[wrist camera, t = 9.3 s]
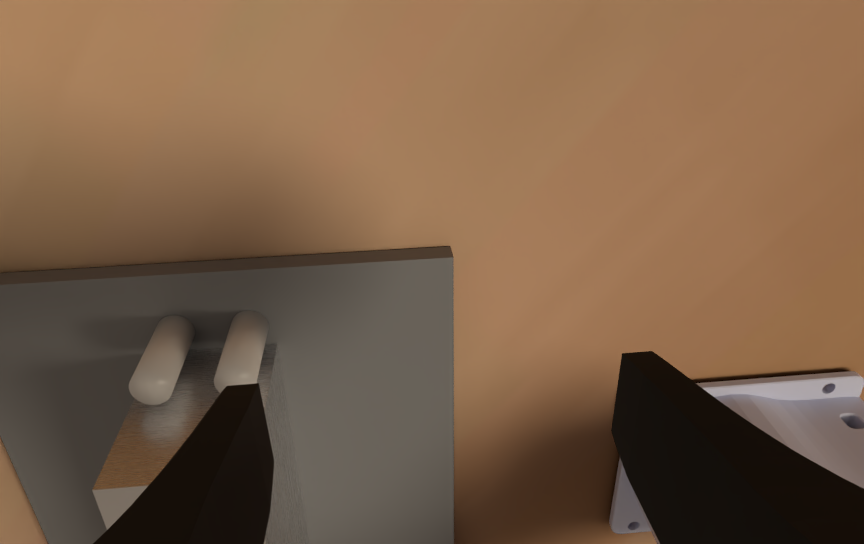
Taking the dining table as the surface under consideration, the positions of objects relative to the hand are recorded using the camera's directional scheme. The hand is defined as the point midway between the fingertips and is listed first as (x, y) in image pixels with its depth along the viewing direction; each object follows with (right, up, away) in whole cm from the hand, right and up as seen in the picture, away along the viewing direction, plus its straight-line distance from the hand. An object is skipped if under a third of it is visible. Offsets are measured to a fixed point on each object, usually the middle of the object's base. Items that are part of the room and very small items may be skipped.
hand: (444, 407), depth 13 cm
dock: (-7, -4, +12) cm, 15 cm away
